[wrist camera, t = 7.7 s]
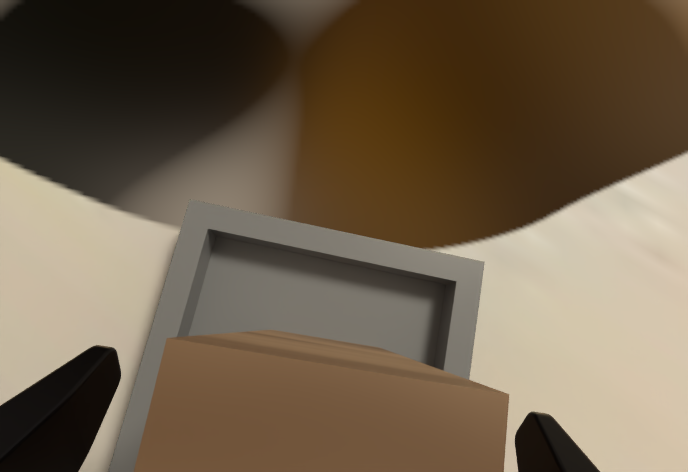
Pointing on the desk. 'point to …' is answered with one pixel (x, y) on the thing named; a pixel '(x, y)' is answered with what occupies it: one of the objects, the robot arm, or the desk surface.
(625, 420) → the desk surface
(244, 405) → the block
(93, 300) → the desk surface
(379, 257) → the tray
